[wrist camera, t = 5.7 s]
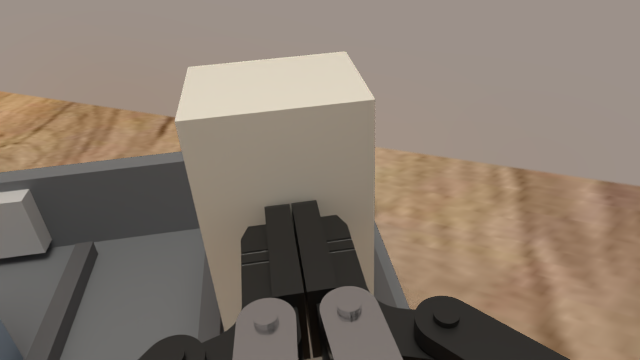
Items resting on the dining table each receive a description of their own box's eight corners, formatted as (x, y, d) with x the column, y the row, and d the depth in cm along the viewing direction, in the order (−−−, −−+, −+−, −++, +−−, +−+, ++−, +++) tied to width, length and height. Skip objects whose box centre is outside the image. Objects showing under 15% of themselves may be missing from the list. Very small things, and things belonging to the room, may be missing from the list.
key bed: (362, 205, 28) (362, 126, 25) (456, 450, 16) (474, 350, 13) (-48, 258, 26) (-97, 178, 23) (-289, 585, 14) (-448, 499, 11)
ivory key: (351, 278, 21) (345, 51, 16) (373, 355, 18) (375, 99, 12) (235, 295, 21) (188, 67, 15) (235, 377, 17) (174, 121, 12)
